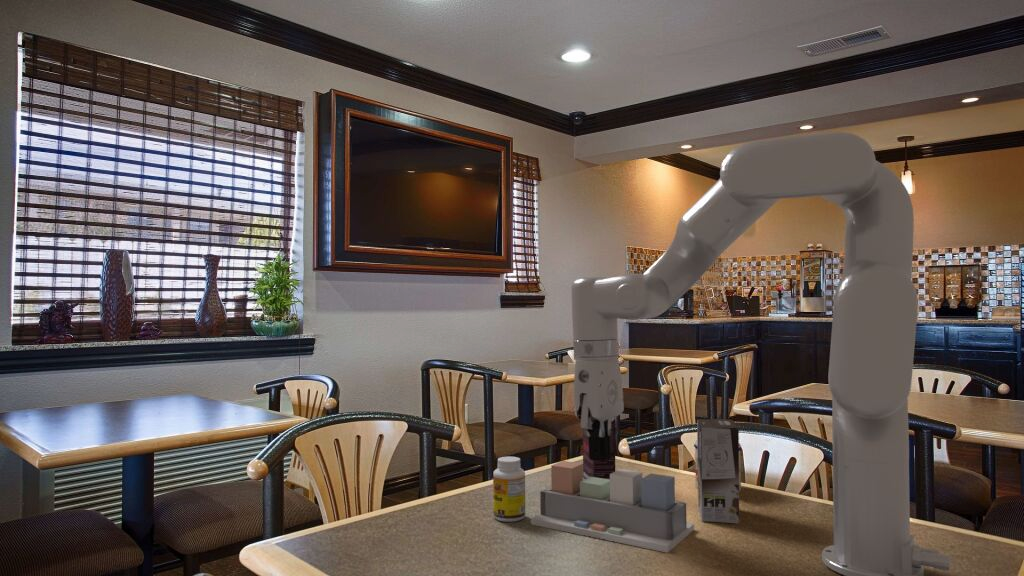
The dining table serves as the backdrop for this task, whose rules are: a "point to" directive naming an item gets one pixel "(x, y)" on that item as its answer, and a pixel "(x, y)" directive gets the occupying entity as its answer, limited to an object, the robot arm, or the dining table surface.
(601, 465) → the supplement box
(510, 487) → the supplement bottle
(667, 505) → the blue-grey block
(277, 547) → the dining table surface
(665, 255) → the robot arm
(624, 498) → the key
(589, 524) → the grey block holder
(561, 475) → the pink block
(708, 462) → the coffee box
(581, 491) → the key
